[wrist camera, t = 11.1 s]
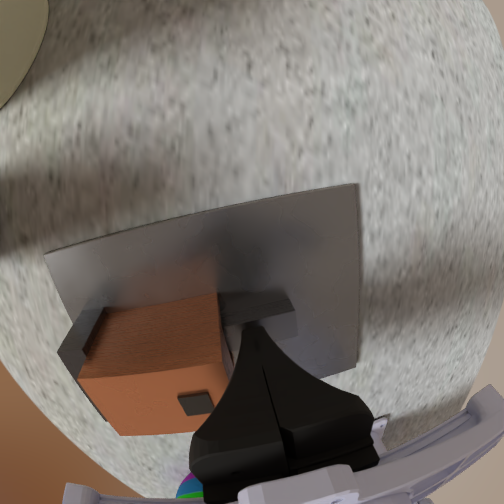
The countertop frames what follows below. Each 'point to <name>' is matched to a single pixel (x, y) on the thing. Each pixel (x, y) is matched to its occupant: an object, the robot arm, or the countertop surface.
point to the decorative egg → (190, 488)
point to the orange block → (159, 366)
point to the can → (19, 40)
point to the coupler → (229, 275)
